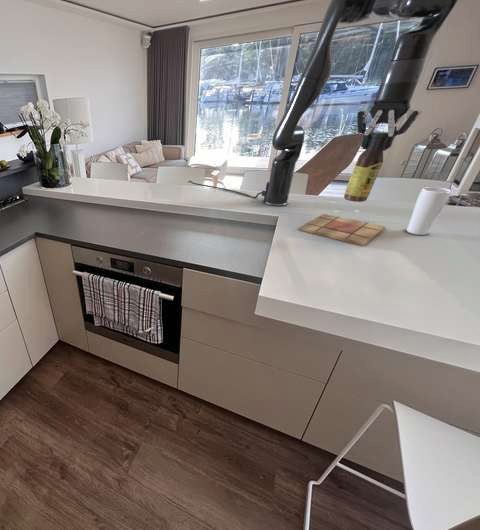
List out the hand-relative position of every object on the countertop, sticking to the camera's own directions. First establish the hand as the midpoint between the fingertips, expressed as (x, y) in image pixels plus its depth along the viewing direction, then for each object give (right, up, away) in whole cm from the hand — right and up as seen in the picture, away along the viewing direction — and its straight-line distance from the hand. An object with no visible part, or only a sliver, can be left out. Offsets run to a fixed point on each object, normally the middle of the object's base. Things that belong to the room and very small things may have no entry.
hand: (374, 149), depth 84 cm
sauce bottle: (+1, -13, +8) cm, 15 cm away
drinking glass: (+28, -23, +15) cm, 39 cm away
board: (+7, -21, +22) cm, 31 cm away
